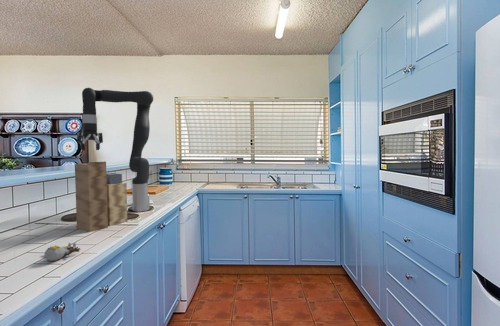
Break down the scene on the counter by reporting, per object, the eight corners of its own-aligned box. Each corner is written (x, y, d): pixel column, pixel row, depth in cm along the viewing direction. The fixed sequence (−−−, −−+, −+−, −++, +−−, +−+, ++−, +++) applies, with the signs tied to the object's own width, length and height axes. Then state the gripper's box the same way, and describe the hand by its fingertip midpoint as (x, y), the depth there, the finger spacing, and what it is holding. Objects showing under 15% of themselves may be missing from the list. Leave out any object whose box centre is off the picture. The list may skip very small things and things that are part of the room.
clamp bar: (99, 180, 174) (99, 171, 173) (121, 183, 162) (121, 173, 161) (87, 181, 168) (86, 172, 167) (109, 184, 156) (109, 174, 156)
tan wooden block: (114, 218, 170) (113, 181, 169) (127, 221, 163) (126, 183, 162) (96, 222, 162) (95, 183, 160) (110, 225, 155) (109, 185, 154)
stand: (94, 224, 158) (92, 160, 156) (107, 227, 152) (106, 161, 150) (76, 228, 151) (74, 161, 149) (90, 231, 144) (88, 162, 142)
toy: (88, 239, 121) (66, 247, 106) (87, 253, 121) (65, 263, 106) (57, 239, 121) (31, 247, 106) (56, 253, 121) (30, 263, 106)
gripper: (97, 123, 187) (98, 150, 188) (74, 122, 175) (74, 150, 176) (104, 123, 183) (105, 150, 184) (80, 121, 171) (81, 150, 172)
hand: (90, 150), depth 180 cm, fingers open, 8 cm apart
